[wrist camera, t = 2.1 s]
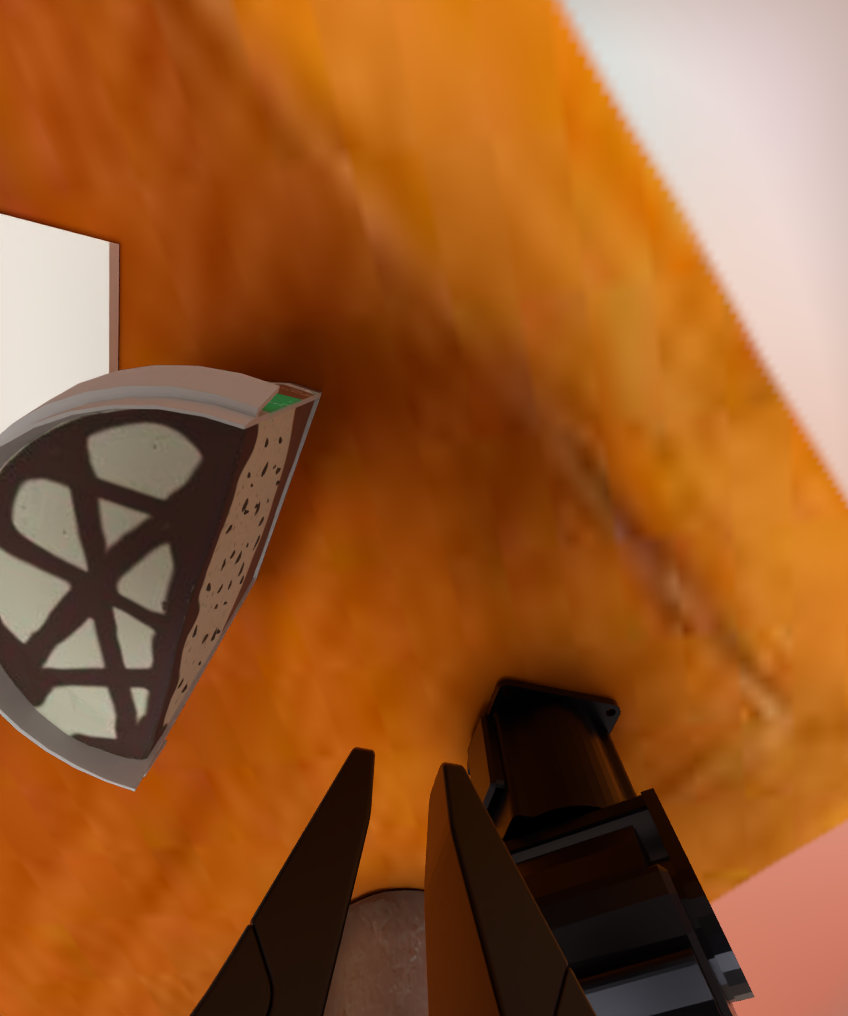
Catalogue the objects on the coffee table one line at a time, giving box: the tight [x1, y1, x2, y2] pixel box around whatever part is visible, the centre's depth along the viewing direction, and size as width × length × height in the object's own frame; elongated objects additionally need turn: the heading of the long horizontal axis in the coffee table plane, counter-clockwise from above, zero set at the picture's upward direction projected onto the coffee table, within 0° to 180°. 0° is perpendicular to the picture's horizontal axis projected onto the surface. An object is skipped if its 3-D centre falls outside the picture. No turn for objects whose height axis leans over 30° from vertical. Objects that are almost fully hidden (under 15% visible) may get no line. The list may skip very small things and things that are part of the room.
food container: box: [0, 365, 322, 791], centre depth 16 cm, size 12×6×10 cm, turn 156°
